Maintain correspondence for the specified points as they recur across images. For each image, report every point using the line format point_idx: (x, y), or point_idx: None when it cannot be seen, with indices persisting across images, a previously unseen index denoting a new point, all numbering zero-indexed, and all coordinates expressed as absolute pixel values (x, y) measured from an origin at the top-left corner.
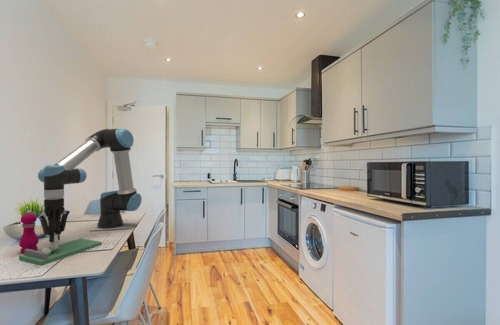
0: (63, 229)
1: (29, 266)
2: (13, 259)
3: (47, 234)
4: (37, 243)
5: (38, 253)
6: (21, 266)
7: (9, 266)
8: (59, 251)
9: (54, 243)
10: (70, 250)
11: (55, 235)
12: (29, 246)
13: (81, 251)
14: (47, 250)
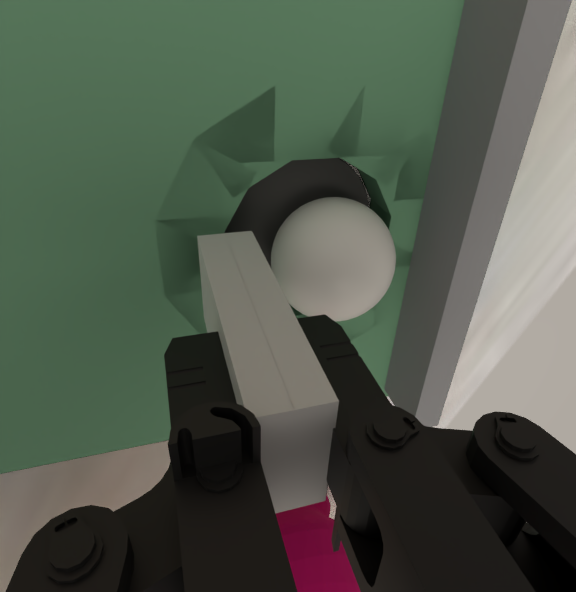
0: (51, 588)
1: (554, 85)
2: None
3: (536, 428)
4: None
5: (508, 175)
6: (552, 169)
7: (551, 264)
8: (189, 180)
9: (278, 283)
10: (48, 35)
11: (312, 398)
12: (310, 515)
13: None
14: (357, 230)
